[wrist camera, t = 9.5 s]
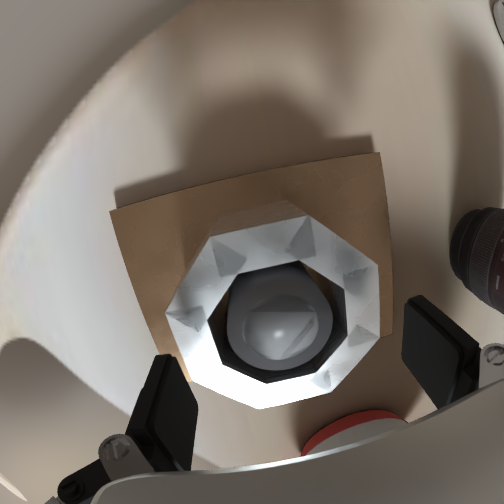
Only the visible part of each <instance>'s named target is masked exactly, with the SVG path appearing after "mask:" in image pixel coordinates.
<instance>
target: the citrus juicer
mask: <svg viewBox="0 0 504 504" xmlns="http://www.w3.org/2000/svg"><path fill="white" fill-rule="evenodd" d="M407 423H408V422H407V421H405V420H403V419H402V418H400V417H398V416H397V415H395V414H393V413H391V412H389V411H385V410H369V411H363V412H359V413H353V414H351V415H349V416H346V417H344V418H341V419H339V420H337V421H335V422H333V423H331V424H329V425H328V426H326V427H324V428H323V429H321V430H320V431H318V432H317V433H316V434H315V435H314V436H312V437H311V438H310V439H309V441H308V442H307V443H306V444H305V446H304V448H303V450H302V453H301V456H300V457H303V456H307V455H312V454H316V453H320V452H324V451H328V450H331V449H335V448H339V447H342V446H346V445H349V444H352V443H355V442H359V441H362V440H365V439H368V438H371V437H374V436H376V435H379V434H382V433H385V432H387V431H390V430H393V429H395V428H398V427H400V426H403V425H405V424H407Z"/></svg>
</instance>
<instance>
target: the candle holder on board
mask: <svg viewBox="0 0 504 504" xmlns="http://www.w3.org/2000/svg"><path fill="white" fill-rule="evenodd" d="M109 212H110V216H111V219H112V223H113V227H114V230H115V234H116V237H117V240H118V244H119V247H120V250H121V253H122V256H123V259H124V263H125V266H126V269H127V272H128V274H129V277H130V280H131V283H132V286H133V289H134V291H135V294H136V297H137V300H138V302H139V305H140V307H141V310H142V313H143V315H144V318H145V320H146V323H147V325H148V328H149V330H150V332H151V335H152V337H153V340H154V342H155V344H156V346H157V349H158V351H159V353H160V355H161V354H171V355H172V357H174V356H175V357H176V358H177V360H178V362H179V364H180V367H181V369H182V371H183V373H184V376H185V378H186V380H187V382H189V381H194V382H196V383H199V384H201V385H203V386H205V387H207V388H210V389H212V390H214V391H217V392H219V393H221V394H224V395H226V396H228V397H231V398H233V399H236V400H238V401H241V402H243V403H246V404H248V405H251V406H254V407H256V408H259V409H260V408H265V407H270V406H275V405H280V404H285V403H289V402H293V401H298V400H302V399H306V398H310V397H314V396H318V395H322V394H325V393H329V392H331V391H332V390H333V389H334V388H335V387H336V386H337V385H338V384H339V383H340V382H341V381H342V380H343V379H344V378H345V377H346V376H347V375H348V374H349V372H350V371H351V370H352V369H353V368H354V367H355V366H356V365H357V364H358V362H359V361H360V360H361V359H362V358H363V357H364V356H365V354H366V353H367V352H368V351H369V350H370V349H371V347H372V346H373V345H374V344H375V343H376V341H377V340H378V339H379V338H382V337H384V336H387V335H390V334H392V328H393V275H392V252H391V237H390V225H389V215H388V206H387V197H386V189H385V182H384V175H383V169H382V162H381V157H380V152H377V153H367V154H359V155H352V156H345V157H338V158H332V159H325V160H319V161H313V162H307V163H302V164H296V165H291V166H285V167H280V168H275V169H270V170H265V171H260V172H255V173H251V174H246V175H241V176H237V177H232V178H228V179H224V180H219V181H215V182H211V183H207V184H203V185H199V186H195V187H191V188H187V189H183V190H179V191H176V192H172V193H168V194H165V195H161V196H157V197H154V198H150V199H147V200H144V201H140V202H137V203H133V204H130V205H127V206H124V207H120V208H117V209H114V210H112V211H109ZM297 260H300V261H301V262H302V264H303V265H304V267H305V268H306V270H307V271H308V273H309V274H310V276H311V277H312V279H313V280H314V282H315V283H316V284H317V286H318V287H319V289H320V290H321V292H322V293H323V295H324V296H325V298H326V299H327V301H328V303H329V305H330V308H331V310H332V316H333V324H332V330H331V334H330V336H329V339H328V341H327V342H326V344H325V346H324V347H323V348H322V350H321V351H320V352H319V353H318V354H317V355H315V356H314V357H313V358H312V359H310V360H309V361H307V362H306V363H304V364H302V365H299V366H297V367H294V368H290V369H286V370H265V369H260V368H257V367H254V366H252V365H250V364H248V363H246V362H245V361H244V360H242V359H241V358H240V357H239V356H238V355H237V354H236V353H235V352H234V350H233V348H232V347H231V345H230V342H229V340H228V335H227V317H228V299H229V286H230V285H231V283H232V282H233V280H234V279H235V277H236V276H237V274H239V273H244V272H248V271H253V270H257V269H262V268H266V267H271V266H275V265H280V264H284V263H288V262H293V261H297Z"/></svg>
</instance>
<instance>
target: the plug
mask: <svg viewBox="0 0 504 504" xmlns="http://www.w3.org/2000/svg"><path fill="white" fill-rule="evenodd" d="M332 324H333V316H332V310H331V308H330V305H329V303H328V301H327V299H326V298H325V296H324V295H323V293H322V292H321V290H320V289H319V287H318V286H317V284H316V283H315V282H314V280H313V279H312V277H311V276H310V274H309V273H308V271H307V270H306V268H305V267H304V265H303V264H302V262H301V261H300V260H297V261H293V262H288V263H284V264H280V265H275V266H271V267H266V268H262V269H257V270H253V271H248V272H244V273H239V274H237V276H236V277H235V279H234V280H233V282H232V283H231V285H230V286H229V299H228V317H227V335H228V340H229V342H230V345H231V347H232V348H233V350H234V352H235V353H236V354H237V355H238V356H239V357H240V358H241V359H242V360H244V361H245V362H246V363H248V364H250V365H252V366H254V367H257V368H260V369H265V370H286V369H290V368H294V367H297V366H299V365H302V364H304V363H306V362H307V361H309V360H310V359H312V358H313V357H314V356H315V355H317V354H318V353H319V352H320V351H321V350H322V348H323V347H324V346H325V344H326V342H327V341H328V339H329V336H330V334H331V330H332Z"/></svg>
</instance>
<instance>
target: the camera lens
mask: <svg viewBox="0 0 504 504" xmlns="http://www.w3.org/2000/svg"><path fill="white" fill-rule="evenodd" d="M450 260H451V266H452V269H453V271H454V273H455V275H456V276H457V277H458V278H459V279H460V280H462V282H463V284H464V286H465V287H466V288H467V289H468V290H470V291H471V292H472V293H473V294H474V295H475V296H477V297H478V298H479V299H480V300H481V301H483V302H484V303H486V304H487V305H489V306H490V307H492V308H494V309H496V310H498V311H499V312H501V313H502V314H504V209H500V208H492V207H489V208H484V209H482V210H479V209H476V210H472V211H470V212H468V213H467V214H466V215H465V216H464V217H463V218H462V219H461V220H460V222H459V224H458V225H457V227H456V229H455V232H454V235H453V238H452V242H451V249H450Z"/></svg>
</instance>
